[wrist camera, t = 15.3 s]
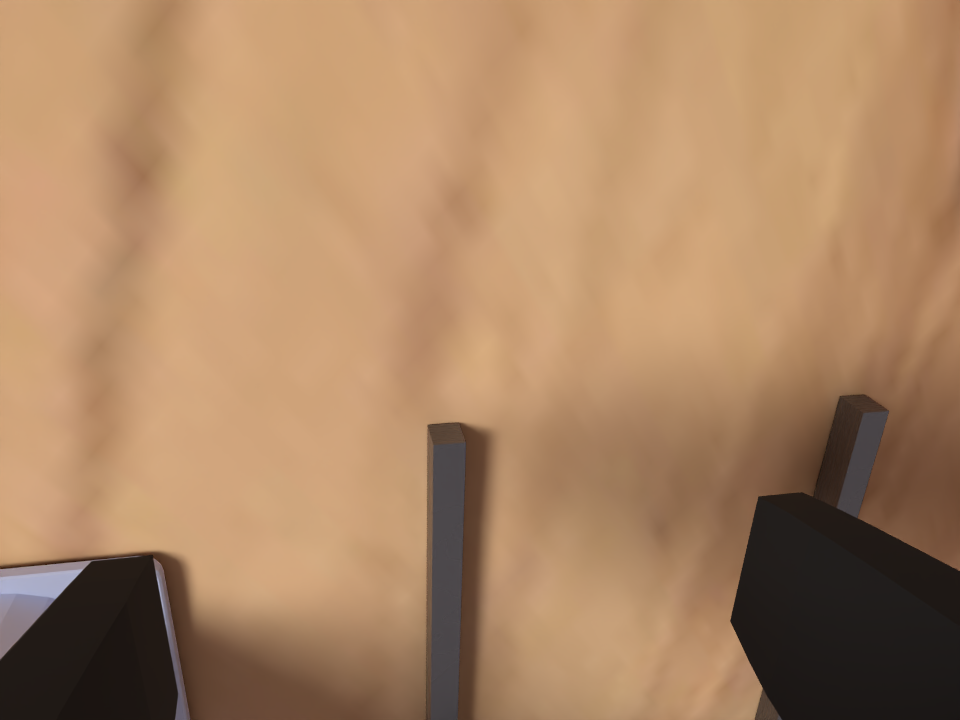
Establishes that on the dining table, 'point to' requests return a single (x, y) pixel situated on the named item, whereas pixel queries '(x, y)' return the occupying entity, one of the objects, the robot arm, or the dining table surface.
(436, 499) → the rail
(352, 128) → the dining table surface
